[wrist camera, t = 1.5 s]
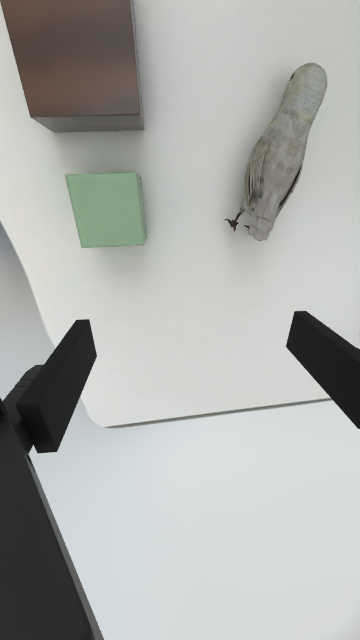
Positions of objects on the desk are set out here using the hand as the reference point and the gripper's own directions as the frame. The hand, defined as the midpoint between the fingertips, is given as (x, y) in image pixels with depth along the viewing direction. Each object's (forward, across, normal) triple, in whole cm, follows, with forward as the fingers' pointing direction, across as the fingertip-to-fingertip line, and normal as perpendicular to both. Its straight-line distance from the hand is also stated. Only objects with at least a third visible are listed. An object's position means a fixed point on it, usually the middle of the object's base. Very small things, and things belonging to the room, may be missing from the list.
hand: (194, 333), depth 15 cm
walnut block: (+20, -8, +20) cm, 29 cm away
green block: (+20, -8, +7) cm, 23 cm away
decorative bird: (+20, +11, +12) cm, 26 cm away
